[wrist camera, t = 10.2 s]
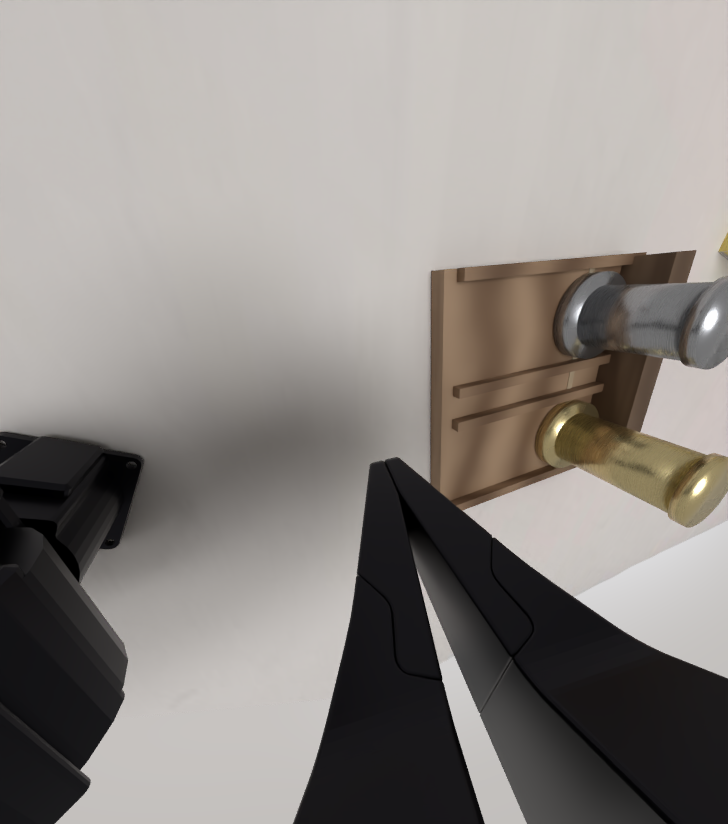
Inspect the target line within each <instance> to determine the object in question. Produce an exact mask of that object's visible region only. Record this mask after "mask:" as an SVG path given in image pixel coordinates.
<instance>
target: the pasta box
mask: <svg viewBox="0 0 728 824" xmlns="http://www.w3.org/2000/svg"><path fill="white" fill-rule="evenodd" d="M718 252H719V253H720V254H722V255H723V256H724V257H725V258H727V259H728V233H727V235H726V237H725V239H724V241H723V243H722V245H721V247H720V249H719V251H718Z"/></svg>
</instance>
